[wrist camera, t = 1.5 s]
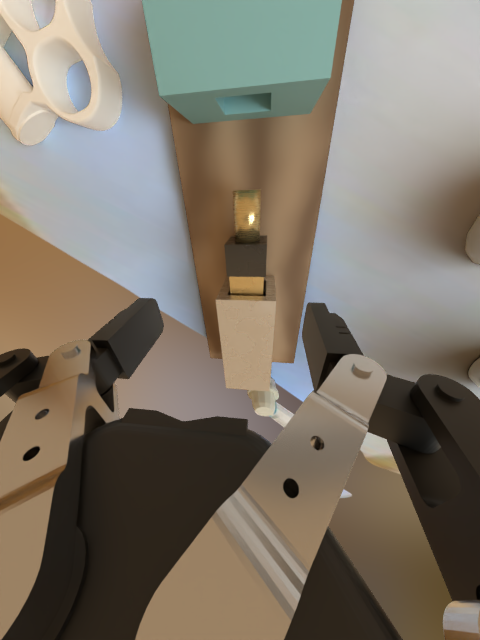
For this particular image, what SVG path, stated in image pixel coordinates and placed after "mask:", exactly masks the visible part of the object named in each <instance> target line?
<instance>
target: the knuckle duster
mask: <svg viewBox="0 0 480 640" xmlns="http://www.w3.org/2000/svg"><path fill="white" fill-rule="evenodd" d="M55 1H56V4H55V13H54V17H53V19H52V21H51V22H50V24H49V25H47V26H45V27H44V28H42V29H40V27H39V25H38V23H37V21H36V18H35V15H34V12H33V7H32V1H31V0H0V118H1V119H2V120H3V121H4V122H5V124H6V125H7V126H8V127H9V128H10V130H11V132H12V135H13V136H14V137H15V138H16V139H17V140H18V141H21V142H22V143H23V144H25V145H35V144H37V143H39V142H41V141H43V140H44V139H45V138H46V137H47V135H48V134H49V133H50V131H51V130H52V129H53V127H54V126H55V121H56V120H57V118H58V117H59V116H60V117H61V118H63V119H65V120H67V121H69V122H72V123H75V124H78V125H81V126H84V127H87V128H90V129H93V130H97V131H105V130H108V129H110V128H112V127H113V126H114V125H115V124H116V122H117V121H118V119H119V116H120V113H121V109H122V87H121V82H120V77H119V74H118V72H117V71H116V70H115V69H114V68H113V66H112V65H111V64H110V62H109V61H108V59H107V57H106V55H105V53H104V51H103V49H102V47H101V45H100V42H99V39H98V36H97V32H96V28H95V23H94V17H93V6H92V3H91V0H55ZM12 31H13V33H14V34H15V36H16V37H17V38H18V40H19V41H20V43H21V44H22V45H23V47H24V49H25V52H26V55H27V62H28V68H29V72H30V75H31V78H32V82H33V87H32V86H31V84H30V83H29V82H28V80H27V79H26V78H25V76H24V75H23V74H22V72H21V71H20V70H19V68H18V67H17V66H16V64H15V63H14V62H13V60H12V59H11V57H10V56H9V55H8V53H7V52H6V51H5V49H4V46H5V44H6V42H7V40H8V38H9V36H10V34H11V32H12ZM81 60H83V62H84V64H85V66H86V68H87V71H88V74H89V77H90V81H91V99H90V102H89V104H88V106H87V107H86V108H85V109H84V110H81V111H79V112H78V111H77V110H76V108H75V107H74V105H73V103H72V101H71V99H70V96H69V93H68V89H67V73H68V70H69V68H70V67H71V66H72V65H73V64H75V63H77V62H79V61H81Z"/></svg>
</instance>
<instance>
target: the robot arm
mask: <svg viewBox="0 0 480 640" xmlns="http://www.w3.org/2000/svg"><path fill="white" fill-rule="evenodd" d="M163 327H164V325H163V320H162V317H161V314H160V310H159V307H158V304H157V302H156V300H155V299H153V298H139V299H137V300H136V301H135V302H134V303H133V304H132V305H130V306H129V307H128V308H127V309H125V310H123V311H121V312H120V313H119V314H117V315H116V316H115V317H114V319H112V320H110V321H109V323H108V324H106V325H105V326H103V327H102V328H101V329H100V330H99V331H98V332H96V333H95V334H94V335H93V336H92V337H91V338H89V339H88V340H76V341H72V342H69V343H67V344H64V345H62V346H60V347H59V348H57V349H56V350H54V352H52V353H51V354H50V356H45V357H38V358H36V357H35V356H34V355H33V353H32V352H31V351H30V350H29V349H16V350H13V351H9V352H6V353H4V354H1V355H0V397H1V396H2V395H3V394H6V395H7V396H8V397H9V398H11V399H12V400H13V401H14V402H15V403H16V405H15V407H14V410H13V411H12V412H11V413H10V414H8V415H7V416H6V417H5V418H4V419H3V420H2V421H1V422H0V640H403V639H402V638H401V636H400V635H399V633H398V632H397V630H396V629H395V627H394V626H393V624H392V622H391V621H390V619H389V618H388V616H387V615H386V613H385V612H384V610H383V609H382V607H381V606H380V604H379V603H378V601H377V600H376V598H375V597H374V595H373V593H372V592H371V590H370V589H369V588H368V586H367V584H366V583H365V581H364V580H363V578H362V577H361V575H360V574H359V572H358V571H357V569H356V568H355V566H354V564H353V563H352V561H351V560H350V558H349V557H348V555H347V554H346V552H345V551H344V550H343V548H342V546H341V545H340V543H339V542H338V540H337V539H336V537H335V535H334V534H333V532H332V531H331V529H330V528H329V526H328V525H329V522H330V520H331V517H332V515H333V513H334V510H335V508H336V506H337V503H338V501H339V498H340V496H341V493H342V491H343V489H344V486H345V484H346V481H347V479H348V477H349V474H350V472H351V469H352V467H353V464H354V462H355V459H356V457H357V455H358V453H359V450H360V448H361V445H362V443H363V440H364V438H365V436H366V433H367V432H370V433H372V434H375V435H377V436H380V437H382V438H385V439H387V442H388V444H389V446H390V449H391V451H392V454H393V456H394V459H395V461H396V464H397V466H398V469H399V471H400V473H401V475H402V478H403V481H404V483H405V485H406V488H407V491H408V493H409V495H410V498H411V500H412V502H413V505H414V508H415V510H416V513H417V515H418V517H419V520H420V522H421V525H422V527H423V530H424V532H425V534H426V537H427V539H428V542H429V544H430V547H431V549H432V551H433V554H434V557H435V559H436V561H437V564H438V566H439V569H440V571H441V573H442V576H443V578H444V581H445V583H446V586H447V588H448V591H449V593H450V596H451V598H452V601H453V602H451V603H449V605H448V606H447V607H446V609H445V612H444V616H443V630H444V637H445V640H480V400H479V399H478V397H477V396H476V395H475V394H474V393H472V392H471V391H470V390H469V389H467V388H466V387H464V386H463V385H461V384H459V383H458V382H456V381H454V380H451V379H449V378H446V377H443V376H439V375H432V374H428V375H423V376H421V377H420V378H419V379H418V381H417V382H416V383H414V382H410V381H407V380H403V379H400V378H396V377H393V376H390V375H387V374H386V372H385V370H384V369H383V367H382V366H381V365H380V364H378V363H377V362H376V361H374V360H372V359H370V358H368V357H366V356H364V355H363V354H362V352H361V350H360V348H359V347H358V345H357V343H356V341H355V339H354V338H353V336H352V334H351V332H350V331H349V329H348V328H347V325H346V323H345V322H344V320H343V319H342V318H341V317H339V316H338V315H337V314H335V313H329V311H328V309H327V307H326V305H325V303H308V304H307V307H306V313H305V318H304V324H303V330H302V338H303V343H304V348H305V352H306V357H307V361H308V365H309V370H310V374H311V379H312V383H313V387H314V391H312V392H311V393H310V394H309V395H308V397H307V398H306V399H305V401H304V402H303V403H302V405H301V406H300V407H299V409H298V410H297V411H296V413H295V414H294V415H293V417H292V418H291V419H290V421H289V422H288V423H287V425H286V426H285V427H284V429H283V430H282V431H281V433H280V434H279V435H278V437H277V438H276V439H275V441H274V442H273V443H272V444H271V443H270V442H269V441H268V440H266V439H265V438H264V437H262V436H261V435H259V434H257V433H256V432H254V431H251V430H248V420H247V419H237V418H228V417H211V418H204V419H198V420H192V421H180V420H178V419H175V418H173V417H171V416H168V415H165V414H163V413H161V412H159V411H154V410H144V409H133V408H129V410H128V411H127V413H126V414H125V416H124V417H123V418H122V419H119V408H118V395H117V385H116V384H115V380H116V379H117V378H123V379H129V378H130V377H131V375H132V374H133V372H134V371H135V370H136V368H137V367H138V365H139V364H140V363H141V361H142V360H143V358H144V357H145V356H146V354H147V353H148V352H149V350H150V349H151V347H152V346H153V345H154V343H155V342H156V340H157V339H158V338H159V336H160V335H161V333H162V331H163ZM468 375H469V378H470V379H471V380H472V381H473V382H474V383H475V384H476V385H477V386H478V387H479V388H480V358H479V359H477V360H476V361H475V362H474V363H473V364H472V366H471V367H470V369H469V372H468Z"/></svg>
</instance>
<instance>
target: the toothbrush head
mask: <svg viewBox="0 0 480 640" xmlns="http://www.w3.org/2000/svg"><path fill="white" fill-rule="evenodd" d="M247 394H248V396H249V398H250V399H252V403H253V408H254V410H255V413H256V414H258V415H261V416H270V417H271V418H272V419H274V420H275V421H277V422H278V423H279V424H280V425H282V426H283V427H285V426H286V425H287V423H288V422H289V421H290V419H291V418H292V417H293V415H294V414H293V413H292V412H290V411H289V410H287V409H286V408H284V407H283V406H282V405H280V404H279V403H277V402H276V400H277V399H278V398H279V394H278V390H277V389H276V385H275V381H274V380H273V379H272V378H271V377H270V390H269V391H257V390H247Z"/></svg>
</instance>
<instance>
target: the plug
mask: <svg viewBox="0 0 480 640" xmlns="http://www.w3.org/2000/svg"><path fill="white" fill-rule="evenodd" d="M260 206H261V189H256V190H234V191H233V211H234V231H235V236H231V237H230V238H229V239H228V241H227V242H226V243H225V245H224V247H225V260H226V273H227V277H229V281H230V295H235V296H263V290H264V277H266V259H267V235H263V236H260Z"/></svg>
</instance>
